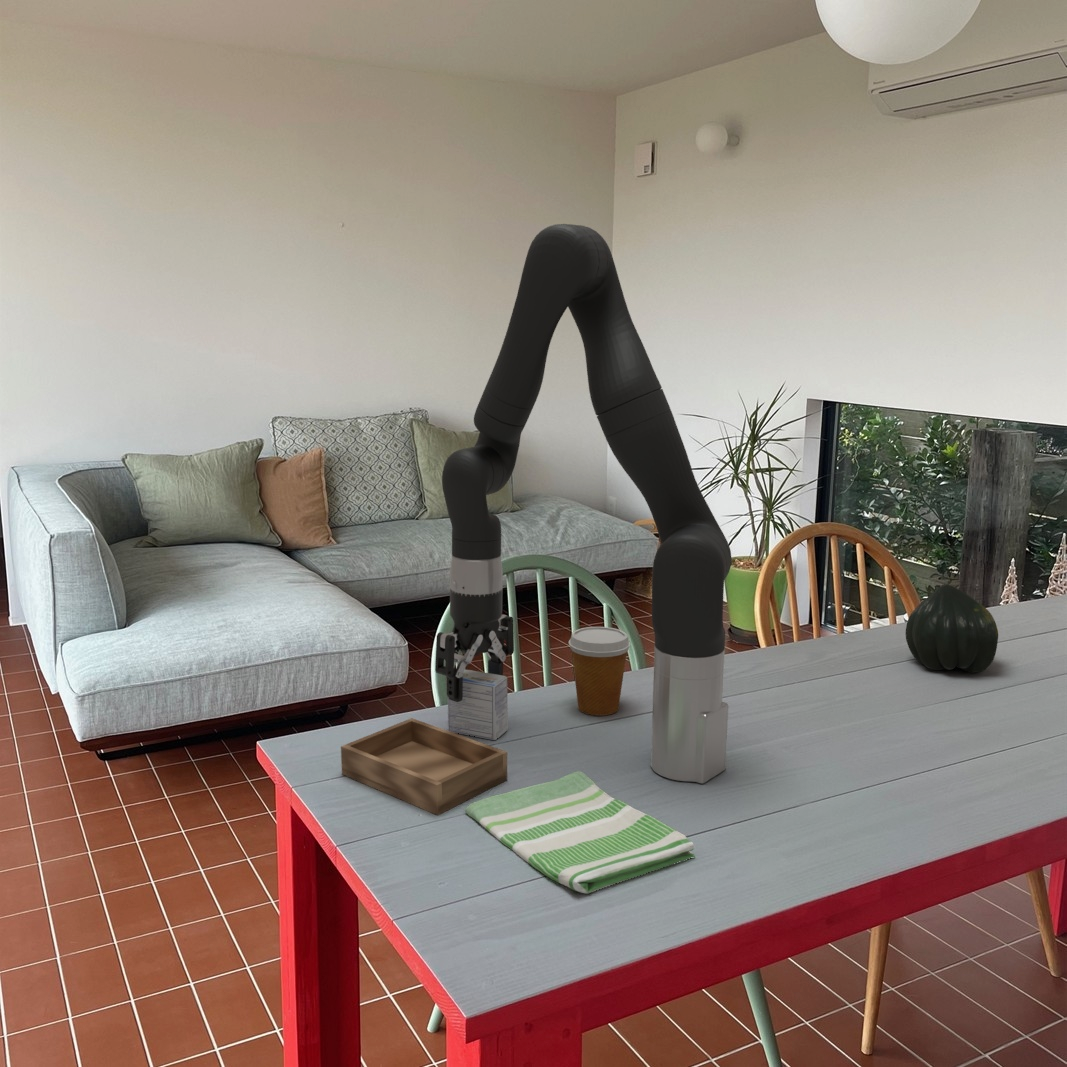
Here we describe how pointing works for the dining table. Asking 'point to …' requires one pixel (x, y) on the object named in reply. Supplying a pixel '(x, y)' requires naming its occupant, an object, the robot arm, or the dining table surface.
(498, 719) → the medicine box
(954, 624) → the squash
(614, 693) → the disposable coffee cup
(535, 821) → the dish towel
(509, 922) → the dining table surface
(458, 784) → the tray
